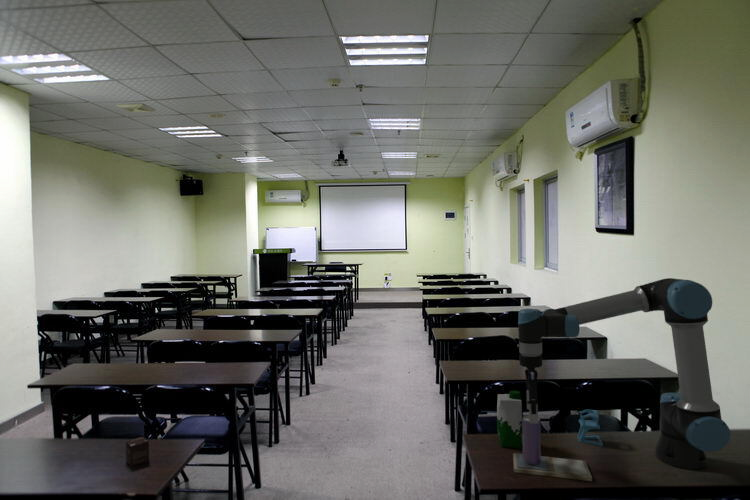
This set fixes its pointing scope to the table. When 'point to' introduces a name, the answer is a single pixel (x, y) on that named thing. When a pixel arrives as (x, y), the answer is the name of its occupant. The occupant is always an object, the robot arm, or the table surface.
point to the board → (554, 467)
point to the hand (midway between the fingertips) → (532, 415)
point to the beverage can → (531, 441)
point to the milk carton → (509, 419)
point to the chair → (589, 427)
